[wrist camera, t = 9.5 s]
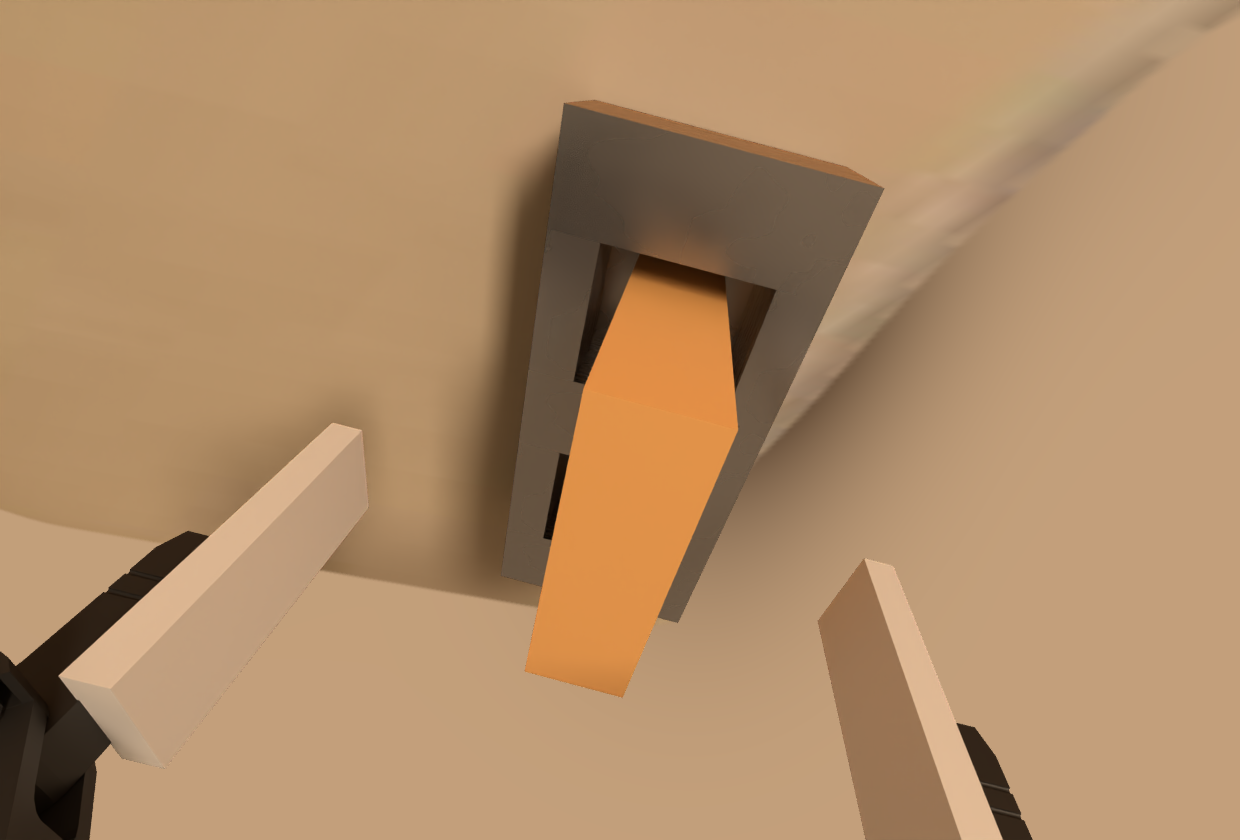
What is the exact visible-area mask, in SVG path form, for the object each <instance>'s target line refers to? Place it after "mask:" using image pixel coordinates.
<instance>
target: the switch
mask: <svg viewBox="0 0 1240 840" xmlns="http://www.w3.org/2000/svg"><path fill="white" fill-rule="evenodd" d="M883 190H884V188H883V187H881V186H879V185H878V184H876V183H874V182H872V181H871V180H869V179H867V178H865V177H864V176H862V175H860V174H858V173H856V172H855V171H853V170H851V169H849V168H848V167H844V166H841V165H837V164H833V163H829V162H826V161H822V160H818V159H814V158H811V157H807V156H803V155H799V154H796V153H792V152H788V151H784V150H781V149H777V148H773V147H769V146H766V145H762V144H758V143H754V142H751V141H747V140H743V139H739V138H736V137H732V136H728V135H724V134H721V133H717V132H713V131H709V130H706V129H702V128H698V127H694V126H691V125H687V124H683V123H679V122H676V121H672V120H668V119H664V118H661V117H657V116H653V115H649V114H646V113H642V112H638V111H634V110H630V109H627V108H623V107H619V106H615V105H612V104H608V103H604V102H600V101H597V100H589V101H579V102H569V103H564V107H563V115H562V122H561V130H560V137H559V145H558V152H557V160H556V167H555V175H554V182H553V190H552V197H551V205H550V212H549V220H548V227H547V235H546V242H545V250H544V257H543V265H542V272H541V280H540V287H539V295H538V302H537V310H536V317H535V325H534V332H533V340H532V347H531V355H530V362H529V370H528V377H527V385H526V392H525V400H524V407H523V415H522V422H521V430H520V437H519V445H518V452H517V460H516V467H515V475H514V482H513V490H512V497H511V505H510V512H509V520H508V527H507V535H506V542H505V550H504V557H503V565H502V572H501V576H504V577H508V578H512V579H516V580H519V581H523V582H527V583H530V584H534V585H538V586H542V585H543V581H544V576H545V571H546V566H547V561H548V557H549V552H550V547H551V542H552V537H553V533H554V528H555V523H556V518H557V513H558V509H559V504H560V499H561V494H562V489H563V484H564V480H565V475H566V470H567V465H568V460H569V456H570V451H571V446H572V441H573V436H574V432H575V427H576V422H577V417H578V412H579V408H580V403H581V398H582V393H583V389H584V386H585V384H586V381H587V379H588V377H589V374H590V372H591V369H592V367H593V365H594V362H595V360H596V357H597V355H598V353H599V350H600V348H601V345H602V343H603V341H604V338H605V336H606V334H607V331H608V329H609V326H610V324H611V322H612V319H613V317H614V314H615V312H616V310H617V307H618V305H619V302H620V300H621V298H622V295H623V293H624V290H625V288H626V286H627V283H628V281H629V278H630V276H631V274H632V271H633V269H634V266H635V264H636V262H637V259H638V257H639V254H644V255H648V256H652V257H655V258H659V259H663V260H667V261H670V262H674V263H678V264H682V265H685V266H689V267H693V268H697V269H700V270H704V271H708V272H712V273H715V274H719V275H723V276H725V283H726V295H727V306H728V318H729V330H730V341H731V353H732V364H733V376H734V388H735V399H736V411H737V422H738V432H737V434H736V436H735V439H734V441H733V443H732V446H731V448H730V450H729V452H728V455H727V457H726V459H725V462H724V464H723V466H722V469H721V471H720V473H719V476H718V478H717V480H716V483H715V485H714V487H713V490H712V492H711V494H710V496H709V499H708V501H707V503H706V506H705V508H704V510H703V513H702V515H701V517H700V520H699V522H698V524H697V527H696V529H695V531H694V533H693V536H692V538H691V540H690V543H689V545H688V547H687V550H686V552H685V554H684V557H683V559H682V561H681V564H680V566H679V568H678V570H677V573H676V575H675V577H674V580H673V582H672V584H671V587H670V589H669V591H668V594H667V596H666V598H665V601H664V603H663V605H662V607H661V610H660V612H659V614H658V618H662V619H665V620H669V621H673V622H677V623H678V622H679V620H680V617H681V615H682V613H683V611H684V609H685V607H686V605H687V603H688V601H689V598H690V596H691V594H692V592H693V590H694V588H695V586H696V584H697V582H698V580H699V577H700V575H701V573H702V571H703V569H704V567H705V565H706V562H707V561H708V559H709V556H710V554H711V552H712V550H713V548H714V546H715V544H716V542H717V540H718V538H719V535H720V533H721V531H722V529H723V527H724V525H725V523H726V520H727V519H728V516H729V514H730V512H731V510H732V508H733V506H734V504H735V502H736V500H737V498H738V495H739V493H740V491H741V489H742V487H743V485H744V483H745V481H746V479H747V477H748V474H749V472H750V470H751V468H752V466H753V464H754V462H755V460H756V458H757V455H758V453H759V451H760V449H761V447H762V445H763V443H764V441H765V439H766V437H767V434H768V432H769V430H770V428H771V426H772V424H773V422H774V420H775V418H776V415H777V413H778V411H779V409H780V407H781V405H782V403H783V401H784V399H785V397H786V394H787V392H788V390H789V388H790V386H791V384H792V382H793V380H794V378H795V376H796V373H797V371H798V369H799V367H800V365H801V363H802V361H803V359H804V357H805V354H806V352H807V350H808V348H809V346H810V344H811V342H812V340H813V338H814V336H815V333H816V331H817V329H818V327H819V325H820V323H821V321H822V319H823V317H824V315H825V312H826V310H827V308H828V306H829V304H830V302H831V300H832V298H833V296H834V293H835V291H836V289H837V287H838V285H839V283H840V281H841V279H842V277H843V275H844V272H845V270H846V268H847V266H848V264H849V262H850V260H851V258H852V256H853V254H854V251H855V249H856V247H857V245H858V243H859V241H860V239H861V237H862V235H863V232H864V230H865V228H866V226H867V224H868V222H869V220H870V218H871V216H872V214H873V211H874V209H875V207H876V205H877V203H878V201H879V199H880V197H881V195H882V193H883Z"/></svg>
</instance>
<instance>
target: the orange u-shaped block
mask: <svg viewBox="0 0 1240 840" xmlns="http://www.w3.org/2000/svg"><path fill="white" fill-rule="evenodd" d="M737 432H738V422H737V411H736V399H735V388H734V376H733V364H732V353H731V341H730V330H729V318H728V306H727V295H726V283H725V276H723V275H719V274H715V273H712V272H708V271H704V270H700V269H697V268H693V267H689V266H685V265H682V264H678V263H674V262H670V261H667V260H663V259H659V258H655V257H652V256H648V255H644V254H639V257H638V259H637V262H636V264H635V266H634V269H633V271H632V274H631V276H630V278H629V281H628V283H627V286H626V288H625V290H624V293H623V295H622V298H621V300H620V302H619V305H618V307H617V310H616V312H615V314H614V317H613V319H612V322H611V324H610V326H609V329H608V331H607V334H606V336H605V338H604V341H603V343H602V345H601V348H600V350H599V353H598V355H597V357H596V360H595V362H594V365H593V367H592V369H591V372H590V374H589V377H588V379H587V381H586V384H585V386H584V389H583V393H582V398H581V403H580V408H579V412H578V417H577V422H576V427H575V432H574V436H573V441H572V446H571V451H570V456H569V460H568V465H567V470H566V475H565V480H564V484H563V489H562V494H561V499H560V504H559V509H558V513H557V518H556V523H555V528H554V533H553V537H552V542H551V547H550V552H549V557H548V561H547V566H546V571H545V576H544V581H543V585H542V590H541V595H540V600H539V605H538V610H537V615H536V620H535V625H534V629H533V634H532V639H531V643H530V648H529V653H528V658H527V663H526V668H525V672H529V673H532V674H536V675H540V676H544V677H547V678H551V679H555V680H559V681H562V682H566V683H570V684H573V685H577V686H581V687H585V688H588V689H592V690H596V691H600V692H603V693H607V694H611V695H615V696H618V697H623V695H624V693H625V691H626V688H627V686H628V684H629V681H630V679H631V677H632V675H633V672H634V670H635V668H636V665H637V663H638V661H639V658H640V656H641V654H642V651H643V649H644V647H645V644H646V642H647V640H648V637H649V635H650V632H651V631H652V628H653V626H654V624H655V621H656V619H657V617H658V614H659V612H660V610H661V607H662V605H663V603H664V601H665V598H666V596H667V594H668V591H669V589H670V587H671V584H672V582H673V580H674V577H675V575H676V573H677V570H678V568H679V566H680V564H681V561H682V559H683V557H684V554H685V552H686V550H687V547H688V545H689V543H690V540H691V538H692V536H693V533H694V531H695V529H696V527H697V524H698V522H699V520H700V517H701V515H702V513H703V510H704V508H705V506H706V503H707V501H708V499H709V496H710V494H711V492H712V490H713V487H714V485H715V483H716V480H717V478H718V476H719V473H720V471H721V469H722V466H723V464H724V462H725V459H726V457H727V455H728V452H729V450H730V448H731V446H732V443H733V441H734V439H735V436H736V434H737Z"/></svg>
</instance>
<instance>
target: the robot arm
mask: <svg viewBox="0 0 1240 840" xmlns="http://www.w3.org/2000/svg"><path fill="white" fill-rule="evenodd" d="M368 508H369V504H368V492H367V481H366V469H365V458H364V446H363V435H362V430H359V429H355V428H352V427H348V426H344V425H340V424H336V423H331V424H330V425H329V426H328V427H327V428H326V429H325V430H324V431H323V432H322V433H321V434H320V435H318V436H317V437H316V438H315V439H314V440H313V441H312V442H311V443H310V444H309V445H308V446H307V447H305V448H304V449H303V450H302V451H301V452H300V453H299V454H298V455H297V456H296V457H295V458H294V459H292V460H291V461H290V462H289V463H288V464H287V465H286V466H285V467H284V468H283V469H282V470H281V471H280V472H278V473H277V474H276V475H275V476H274V477H273V478H272V479H271V480H270V481H269V482H268V483H267V484H265V485H264V486H263V487H262V488H261V489H260V490H259V491H258V492H257V493H256V494H255V495H254V496H252V497H251V498H250V499H249V500H248V501H247V502H246V503H245V504H244V505H243V506H242V507H241V508H239V509H238V510H237V511H236V512H235V513H234V514H233V515H232V516H231V517H230V518H229V519H228V520H226V521H225V522H224V523H223V524H222V525H221V526H220V527H219V528H218V529H217V530H216V531H215V532H214V533H212V534H211V535H210V536H206V535H202V534H198V533H194V532H190V531H187V532H185V533H183V534H181V535H179V536H177V537H175V538H173V539H171V540H169V541H167V542H165V543H163V544H161V545H159V546H157V547H156V548H154V549H153V550H152V551H151V552H150V553H149V554H147V555H146V556H145V557H144V558H143V559H142V560H140V561H139V562H138V563H137V564H136V565H135V566H133V567H132V568H131V569H130V572H129V573H128V574H124V575H123V576H122V577H121V578H120V579H118V580H117V581H116V582H115V583H113V584H112V585H111V586H110V587H109V590H108V591H107V592H106V593H104V592H103V593H102V594H101V595H100V596H98V597H97V598H96V599H95V600H94V601H92V602H91V603H90V604H89V605H88V606H86V607H85V608H84V609H83V610H82V611H81V612H79V613H78V614H77V615H76V616H75V617H74V618H72V619H71V620H70V621H69V622H68V623H67V624H65V625H64V626H63V627H62V628H61V629H60V630H58V631H57V632H56V633H55V634H54V635H52V636H51V637H50V638H49V639H48V640H47V641H45V643H43V644H42V645H41V646H40V647H38V648H37V649H36V650H35V651H34V652H33V653H31V654H30V655H29V656H28V657H27V658H26V659H24V660H23V661H22V662H21V663H19V664H18V665H17V666H15V665H14V664H13V663H12V662H11V660H10V659H9V658H8V657H7V656H5V655H4V654H3V653H2V652H0V840H89V838H90V829H91V819H92V811H93V800H94V792H95V783H96V773H97V771H96V766H95V760H96V759H97V758H98V757H99V756H100V755H101V754H102V753H103V752H104V750H105V749H106V748H107V747H108V746H109V745H110V744H111V745H112V746H113V748H114V749H115V750H116V751H117V753H118V754H119V755H120V757H121V758H123V759H126V760H130V761H134V762H139V763H143V764H147V765H151V766H155V767H159V768H163V769H165V768H166V767H167V766H168V764H169V763H170V762H171V761H172V759H173V758H174V757H175V755H176V754H177V753H178V752H179V750H180V749H181V748H182V746H183V745H184V744H185V742H186V741H187V740H188V739H189V737H190V736H191V735H192V733H193V732H194V731H195V730H196V728H197V727H198V726H199V725H200V723H201V722H202V721H203V720H204V718H205V717H206V716H207V714H208V713H209V712H210V711H211V709H212V708H213V707H214V705H215V704H216V703H217V702H218V700H219V699H220V698H221V696H222V695H223V694H224V693H225V691H226V690H227V689H228V687H229V686H230V685H231V683H232V682H233V681H234V680H235V678H236V677H237V676H238V675H239V673H240V672H241V671H242V669H243V668H244V667H245V666H246V664H247V663H248V662H249V661H250V659H251V658H252V656H253V655H254V654H255V653H256V651H257V650H258V649H259V648H260V646H261V645H262V644H263V643H264V641H265V640H266V639H267V637H268V636H269V635H270V634H271V632H272V631H273V630H274V628H275V627H276V626H277V625H278V623H279V622H280V621H281V619H282V618H283V617H284V616H285V614H286V613H287V612H288V610H289V609H290V608H291V607H292V605H293V604H294V603H295V601H296V600H297V599H298V598H299V596H300V595H301V594H302V592H303V591H304V590H305V589H306V587H307V586H308V585H309V583H310V582H311V581H312V580H313V578H314V577H315V576H316V574H317V573H318V572H319V571H320V569H321V568H322V567H323V566H324V564H325V563H326V562H327V560H328V559H329V558H330V557H331V555H332V554H333V553H334V551H335V550H336V549H337V548H338V546H339V545H340V544H341V543H342V541H343V540H344V539H345V537H346V536H347V535H348V534H349V532H350V531H351V530H352V528H353V527H354V526H355V525H356V523H357V522H358V521H359V519H360V518H361V517H362V516H363V514H364V513H365V512H366V510H367V509H368ZM818 624H819V629H820V634H821V638H822V643H823V647H824V652H825V656H826V661H827V665H828V670H829V675H830V679H831V684H832V688H833V693H834V698H835V702H836V707H837V711H838V716H839V720H840V725H841V729H842V734H843V739H844V743H845V748H846V752H847V757H848V762H849V766H850V771H851V775H852V780H853V784H854V789H855V793H856V798H857V802H858V807H859V811H860V816H861V821H862V826H863V830H864V835H865V839H866V840H1032V837H1031V835H1030V833H1029V830H1028V828H1027V826H1026V824H1025V821H1024V820H1022V819H1021V817H1020V815H1021V812H1020V810H1019V808H1018V806H1017V803H1016V801H1015V799H1014V797H1013V794H1010V792H1009V789H1010V787H1009V785H1008V783H1007V781H1006V778H1005V776H1004V774H1003V771H1002V769H1001V767H1000V765H999V762H998V760H997V758H996V756H995V755H994V753H993V752H992V750H991V749H990V748H989V746H988V745H987V744H986V742H985V741H984V740H983V738H982V737H981V735H980V734H979V733H978V731H977V730H976V729H975V727H971V726H967V725H963V724H958V723H956V722H955V719H954V717H953V714H952V712H951V709H950V707H949V704H948V702H947V699H946V697H945V694H944V692H943V689H942V687H941V684H940V682H939V679H938V677H937V674H936V672H935V669H934V667H933V664H932V662H931V659H930V657H929V654H928V652H927V649H926V647H925V644H924V642H923V639H922V637H921V634H920V632H919V629H918V627H917V624H916V622H915V619H914V617H913V614H912V612H911V609H910V607H909V604H908V602H907V599H906V597H905V594H904V592H903V589H902V587H901V584H900V582H899V579H898V577H897V574H896V572H895V569H894V567H893V566H892V565H889V564H884V563H881V562H876V561H873V560H869V559H865V558H864V559H863V561H862V562H861V563H860V565H859V566H858V567H857V569H856V570H855V572H854V573H853V574H852V575H851V577H850V578H849V580H848V581H847V582H846V584H845V585H844V586H843V588H842V589H841V590H840V592H839V593H838V594H837V596H836V597H835V599H834V600H833V601H832V603H831V604H830V605H829V607H828V608H827V609H826V611H825V612H824V613H823V615H822V616H821V617H820V619H819V620H818Z"/></svg>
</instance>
